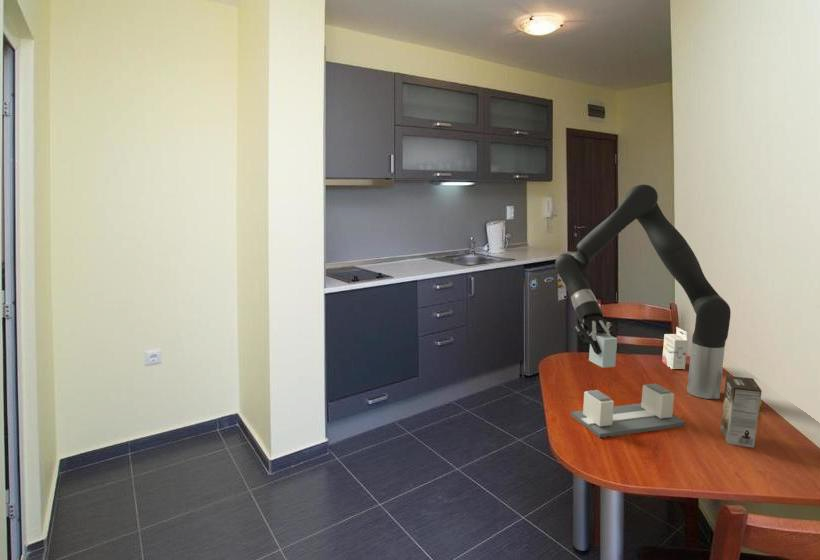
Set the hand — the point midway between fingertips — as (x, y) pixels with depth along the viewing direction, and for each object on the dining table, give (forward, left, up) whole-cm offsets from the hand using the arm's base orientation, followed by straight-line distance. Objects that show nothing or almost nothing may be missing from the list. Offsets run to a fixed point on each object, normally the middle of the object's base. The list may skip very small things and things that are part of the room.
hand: (606, 352), depth 149 cm
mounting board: (-8, +8, -17) cm, 21 cm away
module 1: (-1, +15, -16) cm, 22 cm away
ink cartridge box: (-17, -51, -17) cm, 57 cm away
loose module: (+1, -1, -4) cm, 5 cm away
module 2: (-15, +1, -16) cm, 22 cm away
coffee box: (-35, +4, -17) cm, 39 cm away
